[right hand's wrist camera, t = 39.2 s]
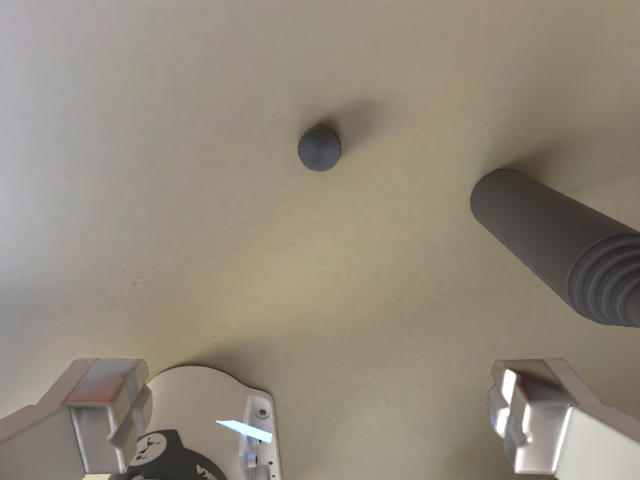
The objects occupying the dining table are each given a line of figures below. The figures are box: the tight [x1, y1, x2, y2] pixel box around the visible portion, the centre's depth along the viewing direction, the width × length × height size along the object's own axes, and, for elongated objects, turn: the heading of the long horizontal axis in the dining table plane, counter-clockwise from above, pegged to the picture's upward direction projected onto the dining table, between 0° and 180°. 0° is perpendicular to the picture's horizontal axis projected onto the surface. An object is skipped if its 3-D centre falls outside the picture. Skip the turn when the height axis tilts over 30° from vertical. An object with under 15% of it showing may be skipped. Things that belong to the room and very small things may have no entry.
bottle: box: [470, 169, 640, 328], centre depth 34 cm, size 6×6×24 cm
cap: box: [298, 126, 341, 171], centre depth 42 cm, size 4×4×2 cm
